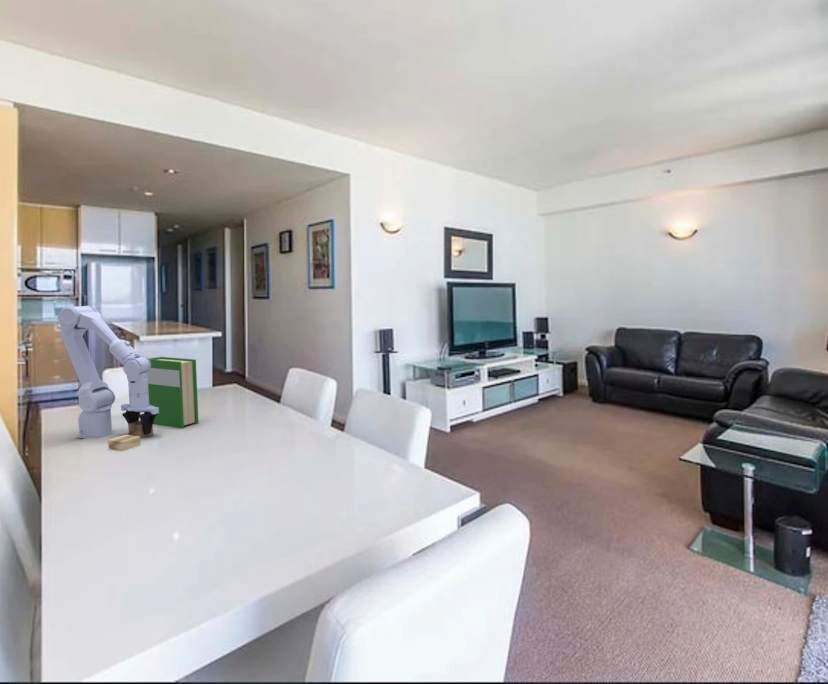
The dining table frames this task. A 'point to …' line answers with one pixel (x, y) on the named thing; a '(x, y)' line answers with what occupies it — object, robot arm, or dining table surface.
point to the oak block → (124, 442)
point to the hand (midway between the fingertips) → (141, 433)
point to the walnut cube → (137, 429)
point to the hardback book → (173, 391)
